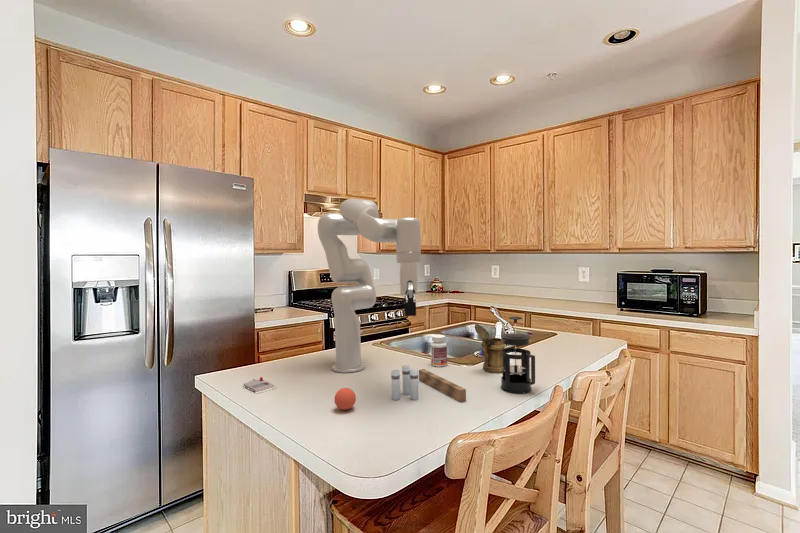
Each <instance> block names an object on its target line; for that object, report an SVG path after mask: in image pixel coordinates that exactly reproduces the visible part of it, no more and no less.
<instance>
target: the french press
mask: <svg viewBox="0 0 800 533" xmlns="http://www.w3.org/2000/svg"><path fill="white" fill-rule="evenodd" d="M508 319H509V320H513V324H514V333H511V332H510V333H504V334H501V335H500V338H501V339H502V340H503V344H504V345H507V346H512V347H511V348H509V347H508V348H504V349H503V350H501V356H503V368H502V369H503V373H502V376H501V379H500V380H501V385H500V389H501V390H502V391H503V392H506V393H508V394H515V395H524V394H529V393H531V392H532V390H533V389H532V387H531V386H532V385H535V384H536V355H534V354H531V351H530V350H527V349H525V348H517V346H519V347H523V346H528V345H529V344H530V339H531V336H530V335H529V334H524V333H517V324H518V320H522V319H523V317H521V316H517V315H515V316H509V317H508ZM513 346H514V347H513ZM509 353H510V354H509ZM511 353H514V354H511ZM517 353H518V354H517ZM519 353H520V354H519ZM511 360H514V365H513V364H511ZM517 360H520V361H521V362H520V363H521V365H517Z"/></svg>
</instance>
